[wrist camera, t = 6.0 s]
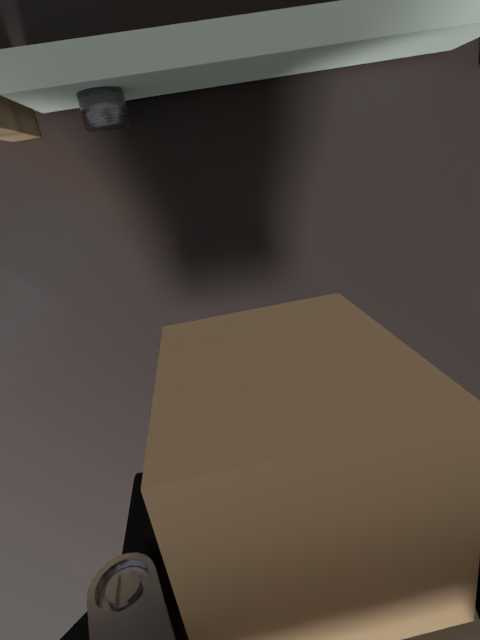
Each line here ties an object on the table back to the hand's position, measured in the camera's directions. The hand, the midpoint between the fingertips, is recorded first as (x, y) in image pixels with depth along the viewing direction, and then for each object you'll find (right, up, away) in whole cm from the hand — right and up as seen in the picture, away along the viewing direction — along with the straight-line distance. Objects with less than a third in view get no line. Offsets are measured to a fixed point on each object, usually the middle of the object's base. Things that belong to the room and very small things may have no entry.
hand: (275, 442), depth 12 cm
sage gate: (-1, +12, +3) cm, 13 cm away
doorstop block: (0, 0, +1) cm, 1 cm away
